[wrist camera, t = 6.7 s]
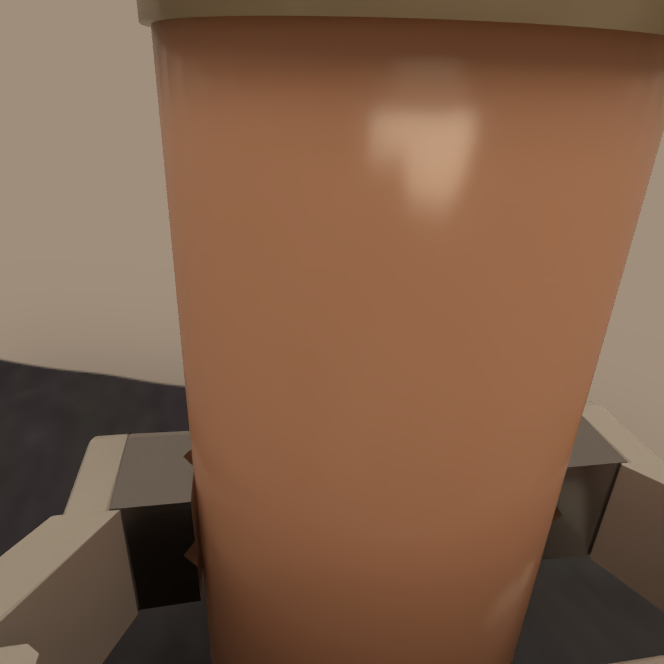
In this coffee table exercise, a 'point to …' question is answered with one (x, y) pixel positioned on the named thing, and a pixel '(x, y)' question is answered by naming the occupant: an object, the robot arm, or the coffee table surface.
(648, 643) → the coffee table surface
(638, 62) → the bead jar
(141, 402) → the coffee table surface
